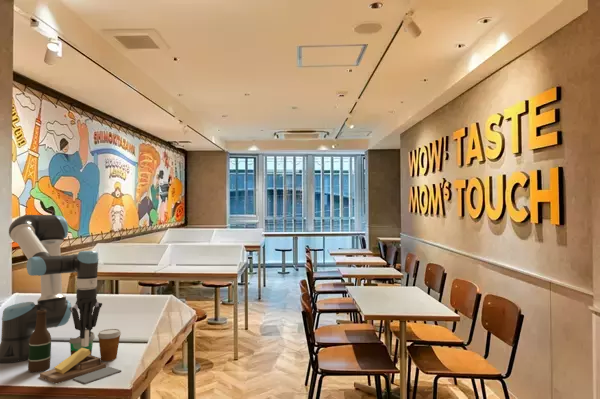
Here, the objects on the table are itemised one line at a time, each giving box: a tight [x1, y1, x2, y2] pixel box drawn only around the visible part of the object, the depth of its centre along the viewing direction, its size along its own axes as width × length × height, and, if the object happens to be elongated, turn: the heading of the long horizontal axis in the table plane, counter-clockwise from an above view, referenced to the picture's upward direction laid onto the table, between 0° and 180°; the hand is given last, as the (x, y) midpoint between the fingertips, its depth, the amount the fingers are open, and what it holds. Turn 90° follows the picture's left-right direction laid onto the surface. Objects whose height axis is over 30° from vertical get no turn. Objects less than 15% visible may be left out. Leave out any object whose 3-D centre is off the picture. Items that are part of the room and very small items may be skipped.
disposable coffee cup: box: [97, 328, 122, 362], centre depth 178 cm, size 10×10×12 cm
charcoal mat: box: [72, 366, 122, 385], centre depth 158 cm, size 8×15×1 cm, turn 148°
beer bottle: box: [27, 310, 52, 373], centre depth 165 cm, size 8×8×24 cm
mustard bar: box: [53, 348, 92, 374], centre depth 161 cm, size 5×12×7 cm, turn 148°
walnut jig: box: [39, 354, 107, 384], centre depth 161 cm, size 12×20×4 cm, turn 148°
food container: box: [68, 331, 96, 356], centre depth 179 cm, size 12×6×10 cm, turn 168°
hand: (84, 345), depth 165 cm, fingers closed
